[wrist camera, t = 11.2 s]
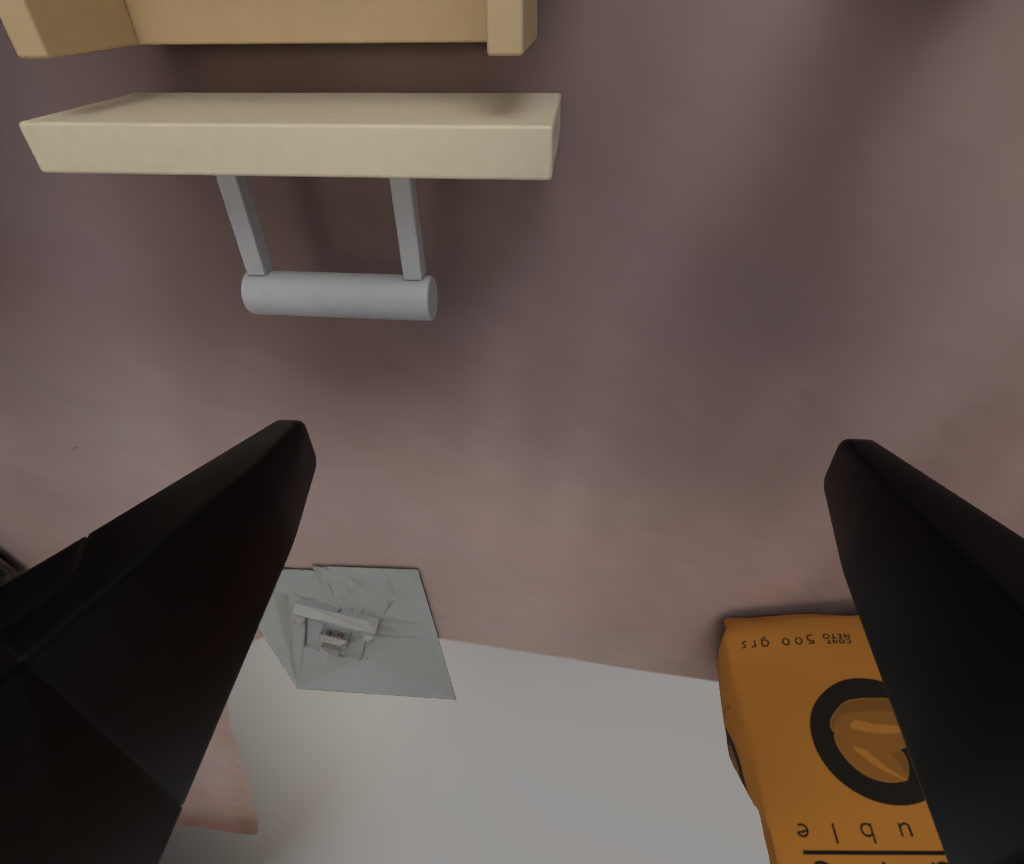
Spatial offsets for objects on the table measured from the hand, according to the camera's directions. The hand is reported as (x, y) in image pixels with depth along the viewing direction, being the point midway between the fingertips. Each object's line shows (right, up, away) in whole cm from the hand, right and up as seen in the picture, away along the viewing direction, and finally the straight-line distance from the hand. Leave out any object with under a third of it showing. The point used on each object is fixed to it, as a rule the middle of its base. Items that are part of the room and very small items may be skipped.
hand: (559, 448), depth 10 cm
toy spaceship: (-14, -10, +27) cm, 32 cm away
